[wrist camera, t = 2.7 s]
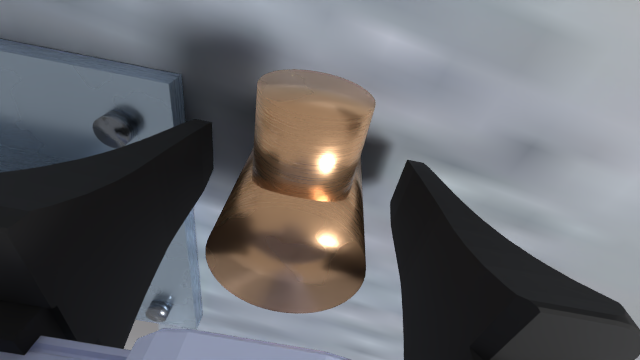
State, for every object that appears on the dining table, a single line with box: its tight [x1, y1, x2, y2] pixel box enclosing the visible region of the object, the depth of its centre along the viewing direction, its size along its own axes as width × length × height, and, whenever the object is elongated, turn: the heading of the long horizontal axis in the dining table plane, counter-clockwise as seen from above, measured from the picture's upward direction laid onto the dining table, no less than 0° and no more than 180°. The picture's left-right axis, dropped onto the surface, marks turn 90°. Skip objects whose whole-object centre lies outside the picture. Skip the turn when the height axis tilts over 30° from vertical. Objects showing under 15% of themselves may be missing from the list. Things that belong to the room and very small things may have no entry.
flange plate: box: [0, 39, 202, 330], centre depth 15 cm, size 16×16×3 cm
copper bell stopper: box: [206, 69, 375, 313], centre depth 10 cm, size 6×4×6 cm, turn 170°
